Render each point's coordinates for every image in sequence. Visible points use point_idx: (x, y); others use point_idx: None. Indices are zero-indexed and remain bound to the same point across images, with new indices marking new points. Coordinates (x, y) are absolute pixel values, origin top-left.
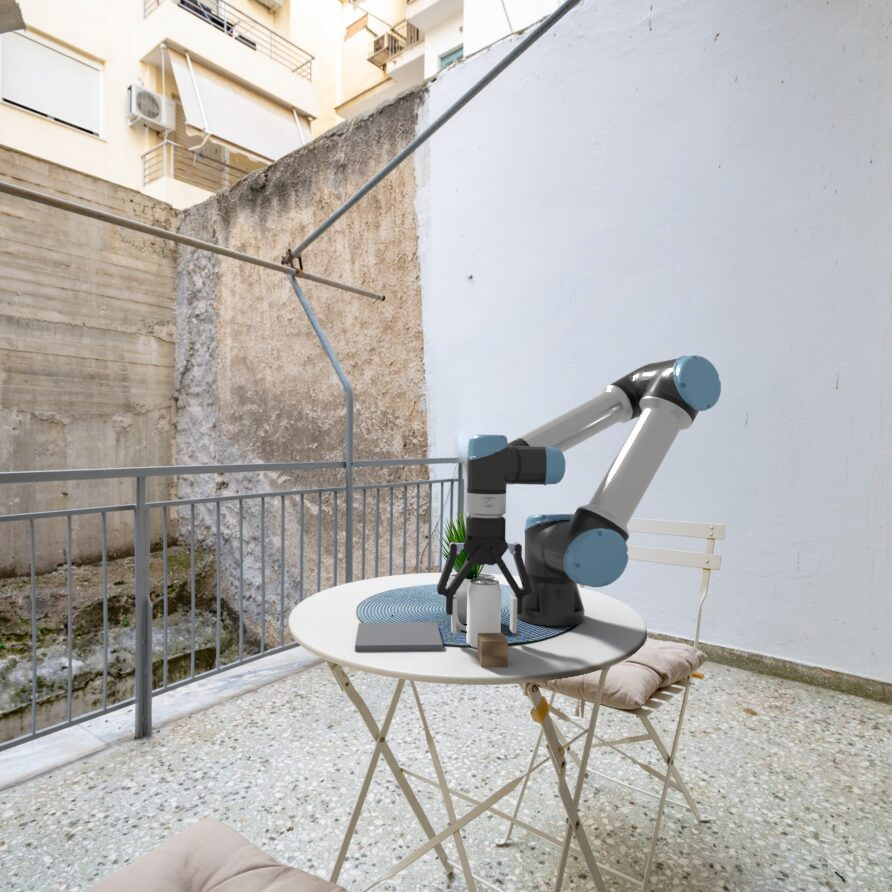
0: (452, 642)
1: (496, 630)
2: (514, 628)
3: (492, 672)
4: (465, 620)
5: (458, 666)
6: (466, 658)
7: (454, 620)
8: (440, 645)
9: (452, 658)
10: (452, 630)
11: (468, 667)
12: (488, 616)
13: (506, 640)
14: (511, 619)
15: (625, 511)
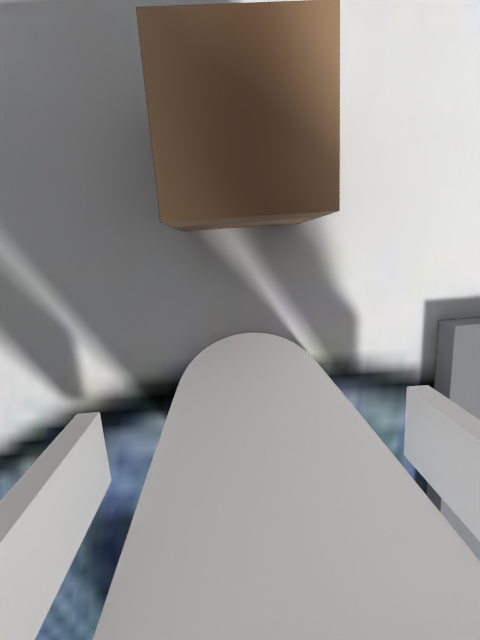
0: (381, 419)
1: (191, 383)
2: (78, 426)
3: None
4: None
5: (401, 103)
6: (349, 216)
7: (470, 422)
8: (464, 323)
9: (412, 214)
10: (438, 393)
11: (357, 89)
12: (252, 399)
13: (146, 21)
14: (77, 492)
15: None
